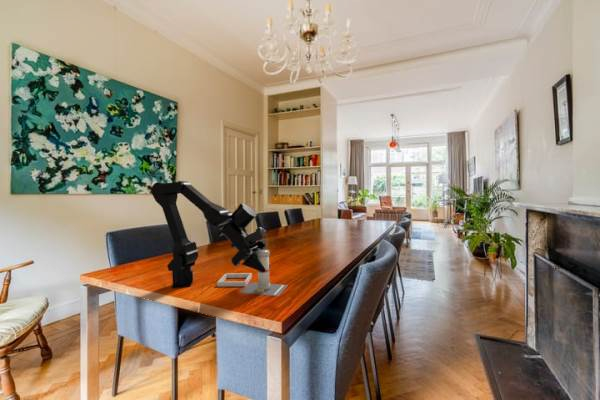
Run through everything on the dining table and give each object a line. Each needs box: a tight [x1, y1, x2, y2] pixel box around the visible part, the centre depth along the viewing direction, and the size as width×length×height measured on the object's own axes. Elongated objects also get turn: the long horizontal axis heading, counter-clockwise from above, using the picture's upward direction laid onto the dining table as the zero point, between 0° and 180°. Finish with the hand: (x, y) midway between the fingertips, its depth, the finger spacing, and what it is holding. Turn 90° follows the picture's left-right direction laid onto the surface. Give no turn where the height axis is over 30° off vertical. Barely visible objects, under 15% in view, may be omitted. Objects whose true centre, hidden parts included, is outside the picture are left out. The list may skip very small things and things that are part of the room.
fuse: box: [257, 249, 271, 291], centre depth 93 cm, size 4×4×13 cm
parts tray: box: [216, 272, 253, 287], centre depth 101 cm, size 10×10×2 cm
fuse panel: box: [238, 281, 288, 297], centre depth 93 cm, size 14×10×2 cm
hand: (267, 269), depth 93 cm, fingers closed on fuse, 4 cm apart
